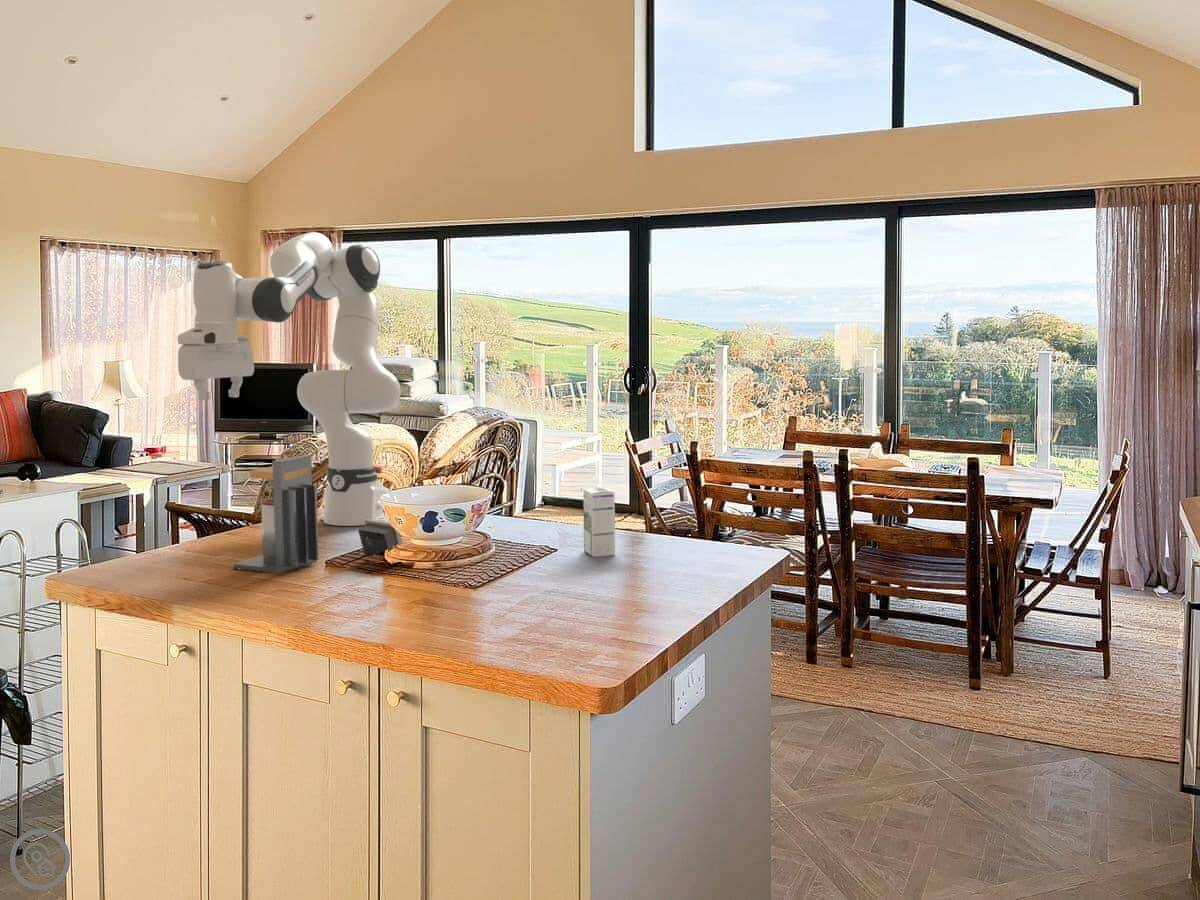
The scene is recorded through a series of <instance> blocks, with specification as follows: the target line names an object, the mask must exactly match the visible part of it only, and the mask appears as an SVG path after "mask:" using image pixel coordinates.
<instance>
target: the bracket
mask: <svg viewBox="0 0 1200 900" xmlns="http://www.w3.org/2000/svg"><path fill="white" fill-rule="evenodd" d="M271 464H272V465H271V466H267V467H263V468H258V469H257V468H256V469H251V470H250V471H249V478H250V479H256V480H257V479H258V480H259V479H260V480H272V484H273V485H272V488H273V490H272V491H273V498H274V520H275V548H276V563H267V562H264V561H263V554H260V555H256V556H253V557H251V558H248V559H244V560H241V561H238V562H235V563H233V568H240V569H239V570H241V569H248V570H247V571H250V570H256V571H255V572H260V571H263V573H269V572H270V573H272V574H279V575H282V574H284V573H287V572H290V571H293V570H296V569H299V568H301V567H304V566H307V565H310V564H313V563H316V562H318V560H319V535H318V533H319V532H318V503H317V502H318V500H317V499H318V498H317V495H318V494H317V484H312V483H313V482H312V481H313V479H312V455H307V454H306V455H305V454H304V455H303V454H302V455H297V456H296V455H295V456H293V457H292V456H291V457H288V458H282V459H278V460H272V463H271Z"/></svg>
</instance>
